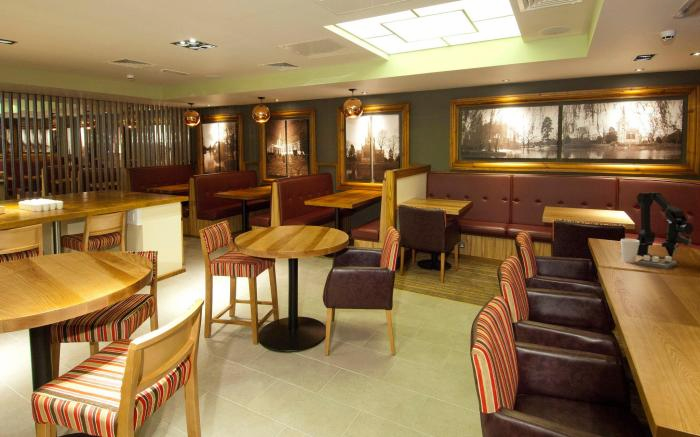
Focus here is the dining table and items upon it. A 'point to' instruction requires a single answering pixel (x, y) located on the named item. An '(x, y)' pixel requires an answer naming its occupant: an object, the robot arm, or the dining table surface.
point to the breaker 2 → (668, 258)
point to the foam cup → (629, 250)
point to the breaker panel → (657, 263)
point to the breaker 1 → (646, 257)
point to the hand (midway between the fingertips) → (671, 257)
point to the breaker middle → (655, 259)
